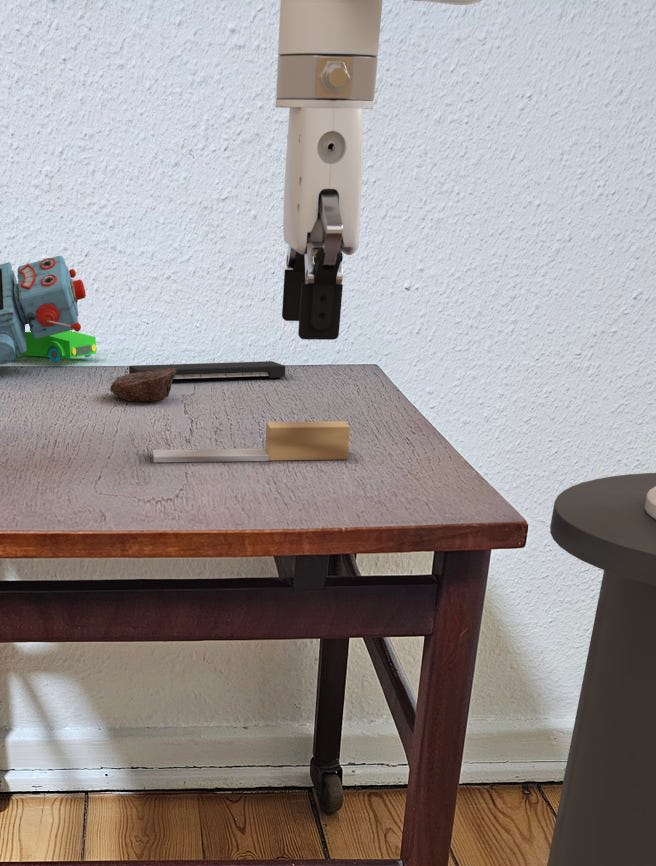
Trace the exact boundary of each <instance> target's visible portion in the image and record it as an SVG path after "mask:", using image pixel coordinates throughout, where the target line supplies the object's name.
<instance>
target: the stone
mask: <svg viewBox="0 0 656 866" xmlns="http://www.w3.org/2000/svg"><path fill="white" fill-rule="evenodd" d="M175 373H176V369H175V368H166V369H162V370H161V369H159V370H153V371H146V372H136V373H131V374H129V373H126V374H125V375H121V376H120V377H117V378H116V379H115V380H114V381H113V382H111V385H110V390H109V391H110V392H111V393H112V394H113V395H114V396H115V397H117V398H120V399H123V400H125V401H127V402H128V401H129V402H147V401H148V402H151V401H152V402H153V401H163V400H165V399H166V398H168V397H169V395H170V392H171V390H172V385H173V380H174V379H173V378H174V376H175Z"/></svg>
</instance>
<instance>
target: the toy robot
mask: <svg viewBox="0 0 656 866" xmlns="http://www.w3.org/2000/svg"><path fill="white" fill-rule="evenodd" d="M65 261H66V260H65V258H64V257H63V256H62V255H57V256H53V257H48V258H44V259H42V260H38V261H34V262H33V261H32V262H30V263H26V264H22V265H19V266H18V267H17V278H16V274H15V272H14V271H13V268H12V266H13V265H12V264H11V262H10V261H8V262H4V263H0V366H1V365H7V364H9V363H11V362H12V361H13V360H15V359H14V357H15V355H18V354H22V353H25V352H26V332H25V327H26V324H29V327H30V331H31V332H32V335H33V337H34V338H36V339H38V338H42V337H46V336H50V335H54V334H58V333H62V332H66V331H70V330H71V331H74V332H78V333H79V332H80V331H81V330H82V326H81V324H80V323H79V307H78V301H79V300H83V299H86V297H87V295H86V294H87V293H86V288H85V285H84V282H83V280H82V279H76V280H73V279H74V278H75V277H76V276H77V272H76V270H75V269H74V268H71V269H69V266H67V264H66V262H65ZM18 356H19V355H18Z"/></svg>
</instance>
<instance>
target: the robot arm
mask: <svg viewBox="0 0 656 866" xmlns="http://www.w3.org/2000/svg"><path fill="white" fill-rule="evenodd" d="M383 1H384V0H280V4H279V5H280V8H279V27H278V45H277V46H278V47H277V55H278V56H277V62H276V63H277V64H276V81H275V82H276V83H275V105H274V108H283V109H284V108H288V109H289V112H288V127H287V136H286V153H285V169H284V170H285V172H284V187H283V188H284V189H283V219H282V224H283V225H282V226H283V227H282V230H283V231H282V233H283V240H284V242H285V244H287V245H288V246H287V247H288V248H287V254H286V259H285V266H286V268H284V272H283V274H284V275H283V288H282V289H283V293H282V306H281V307H282V310H281V317H282V319H283V320H284V321H285V322H298V330H297V331H298V332H297V334H298V337H299V338H300V339H301V340H313V341H314V340H319V341H321V340H322V341H323V340H324V341H327V340H328V341H329V340H330V341H333V340H336V339H338V338H339V335H340V325H341V312H342V301H343V300H342V299H343V288H344V284H343V278H344V270H343V269H344V268H343V259H344V255H343V254H345V255H347V256H352V255H353V254H355V253H356V252H357V250H358V248H359V242H360V229H361V228H360V225H361V204H362V187H363V186H362V185H363V167H364V166H363V165H364V162H363V161H364V110H374V105H375V94H376V83H377V71H378V61H379V60H378V56H379V45H380V33H381V24H382V23H381V21H382V10H383ZM410 1H412V2H428V3H438V4H445V5H446V4H447V5H453V6H469V5H473V4H477V3H479V2H482V1H483V0H410ZM645 510H646V512H647V513H648V514H649V515H650V516H651V517H652V518H654V519H655V520H656V486H655V487H654V488H652V489H650V490H649V492H648V493H647V496H646V502H645Z"/></svg>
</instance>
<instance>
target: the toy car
mask: <svg viewBox="0 0 656 866" xmlns="http://www.w3.org/2000/svg"><path fill="white" fill-rule="evenodd" d="M72 331H73V330H71V331H66V332H62V333H58V334H54V335H50V336H46V337H42V338H38V339H36V338H34V337H33V335H32V332H26V352H25V353H22V354H18V355H15V357H14V359H13V360H16V359H17V358H18V356H30V357H44V358H48V359H49V360H50V361H51V362H52V363H58V362H59V361H60V360H61V359H74V358H81V357H85V358H90V357H91V356H93V355H96V354H97V351H98V348H97V339H96V338H97V337H96V336H93V335H90V334H86V333H82V332H79V331H78V332H77V331H74V332H72Z"/></svg>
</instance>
